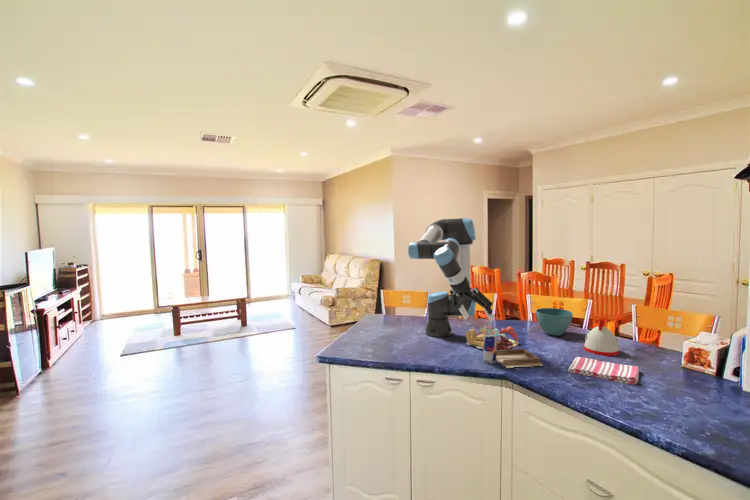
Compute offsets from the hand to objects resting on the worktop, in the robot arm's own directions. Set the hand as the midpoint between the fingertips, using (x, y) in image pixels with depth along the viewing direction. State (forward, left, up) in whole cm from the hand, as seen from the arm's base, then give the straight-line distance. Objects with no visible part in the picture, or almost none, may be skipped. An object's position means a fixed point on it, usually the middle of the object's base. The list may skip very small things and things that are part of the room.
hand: (479, 318), depth 161 cm
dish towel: (+18, +45, -21) cm, 53 cm away
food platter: (-25, +16, -20) cm, 36 cm away
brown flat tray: (0, +16, -20) cm, 26 cm away
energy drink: (0, +5, -20) cm, 21 cm away
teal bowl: (-35, +57, -20) cm, 70 cm away
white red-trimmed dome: (-5, +62, -20) cm, 65 cm away
